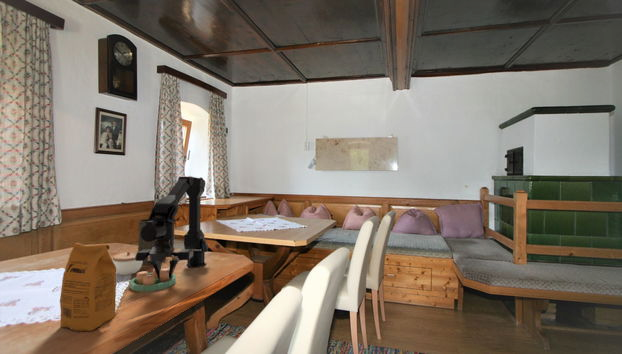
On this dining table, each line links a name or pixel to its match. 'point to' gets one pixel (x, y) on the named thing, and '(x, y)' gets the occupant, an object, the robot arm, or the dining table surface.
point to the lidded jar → (127, 263)
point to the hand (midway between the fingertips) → (164, 277)
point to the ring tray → (156, 286)
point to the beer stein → (141, 243)
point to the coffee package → (88, 288)
